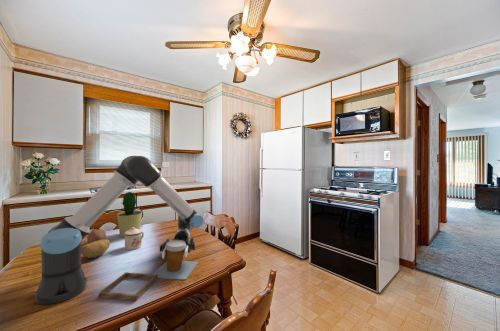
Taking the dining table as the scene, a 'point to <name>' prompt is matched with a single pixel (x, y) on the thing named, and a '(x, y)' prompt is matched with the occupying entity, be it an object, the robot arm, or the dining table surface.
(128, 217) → the potted cactus
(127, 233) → the teacup with lid
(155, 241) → the dining table surface
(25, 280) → the dining table surface
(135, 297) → the walnut collar
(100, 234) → the onion
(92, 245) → the potato
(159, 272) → the slate mat
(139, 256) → the dining table surface
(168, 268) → the disposable coffee cup
